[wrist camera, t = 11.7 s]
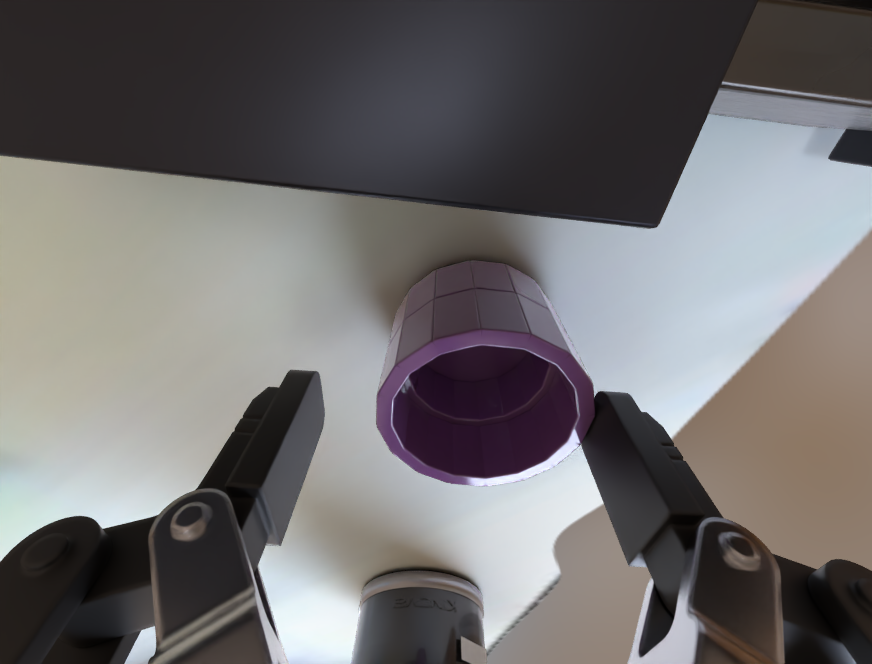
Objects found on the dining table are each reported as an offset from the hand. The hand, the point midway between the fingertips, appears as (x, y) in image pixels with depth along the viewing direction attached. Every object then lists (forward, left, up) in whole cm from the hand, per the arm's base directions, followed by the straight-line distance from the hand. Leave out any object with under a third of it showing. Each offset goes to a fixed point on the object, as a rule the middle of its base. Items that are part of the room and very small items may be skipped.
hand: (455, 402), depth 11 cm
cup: (0, -1, -5) cm, 5 cm away
